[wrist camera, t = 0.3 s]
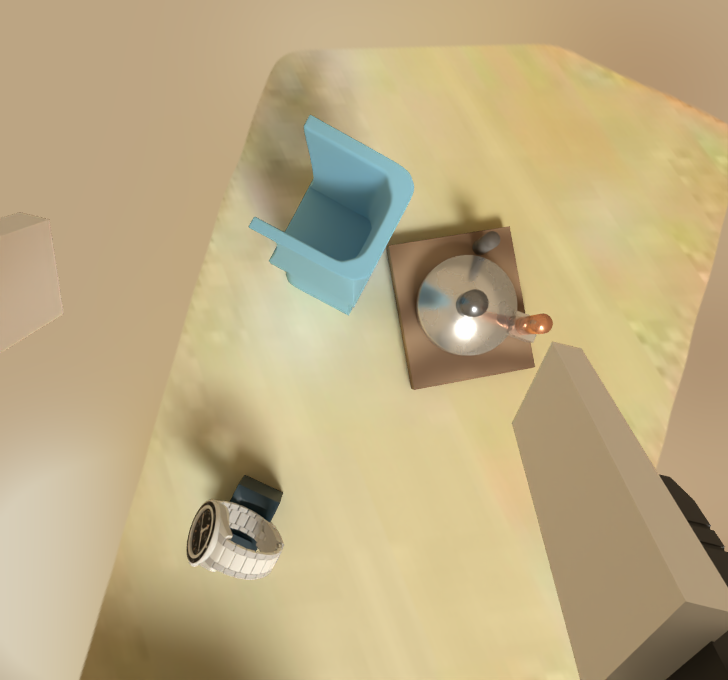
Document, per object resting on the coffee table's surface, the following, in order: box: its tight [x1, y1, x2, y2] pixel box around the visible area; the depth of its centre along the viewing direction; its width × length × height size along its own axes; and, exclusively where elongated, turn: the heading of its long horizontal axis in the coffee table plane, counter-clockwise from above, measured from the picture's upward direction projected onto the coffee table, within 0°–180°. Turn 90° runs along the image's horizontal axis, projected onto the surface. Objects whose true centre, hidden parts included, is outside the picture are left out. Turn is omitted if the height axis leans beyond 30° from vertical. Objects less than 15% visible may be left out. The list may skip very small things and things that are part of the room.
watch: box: [187, 475, 284, 580], centre depth 40 cm, size 6×8×11 cm
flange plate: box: [416, 255, 553, 355], centre depth 43 cm, size 12×10×6 cm
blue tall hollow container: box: [249, 115, 414, 315], centre depth 37 cm, size 8×8×20 cm
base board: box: [387, 226, 535, 390], centre depth 45 cm, size 15×13×5 cm
